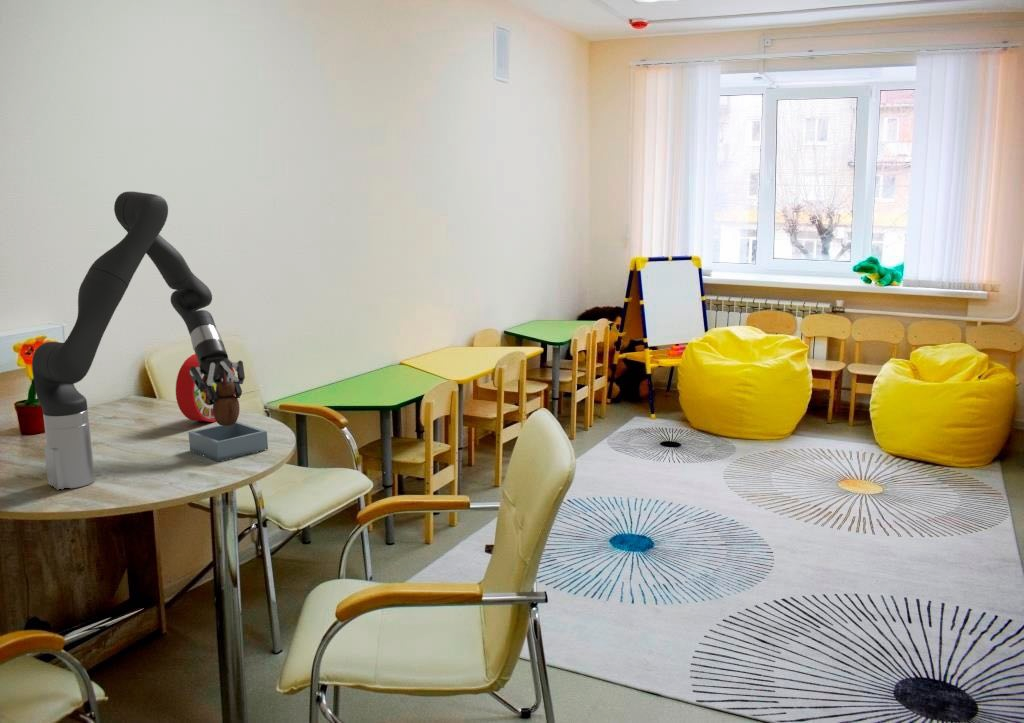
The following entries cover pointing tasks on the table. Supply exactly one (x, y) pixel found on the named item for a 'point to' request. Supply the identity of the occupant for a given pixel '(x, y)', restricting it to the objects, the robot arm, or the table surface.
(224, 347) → the robot arm
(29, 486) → the table surface
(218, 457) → the box
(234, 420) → the wooden figurine
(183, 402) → the toy clock
